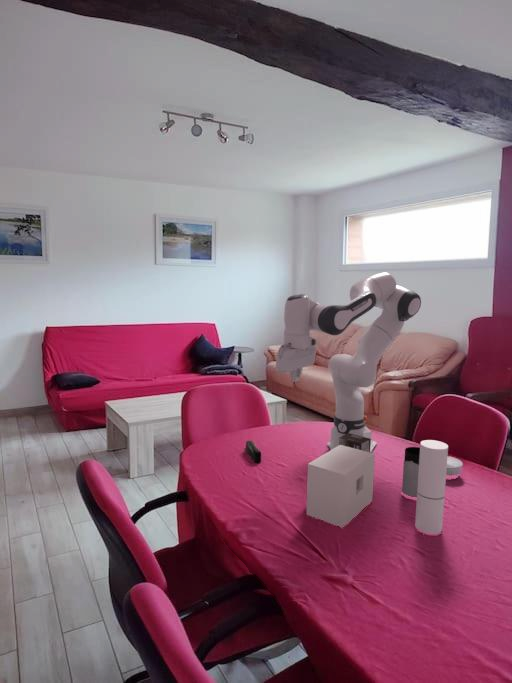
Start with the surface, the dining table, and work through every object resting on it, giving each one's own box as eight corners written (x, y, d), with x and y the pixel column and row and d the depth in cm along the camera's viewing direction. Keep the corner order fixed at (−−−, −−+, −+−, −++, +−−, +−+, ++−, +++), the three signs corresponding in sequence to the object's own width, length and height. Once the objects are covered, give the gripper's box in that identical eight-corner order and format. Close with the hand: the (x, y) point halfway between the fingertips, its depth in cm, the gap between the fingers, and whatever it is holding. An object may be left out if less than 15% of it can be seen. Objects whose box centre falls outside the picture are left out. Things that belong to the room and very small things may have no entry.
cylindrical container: (441, 525, 132) (447, 441, 129) (442, 538, 126) (449, 450, 122) (415, 520, 135) (420, 438, 131) (414, 533, 128) (420, 447, 125)
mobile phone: (262, 451, 175) (249, 437, 189) (255, 452, 174) (242, 438, 188) (262, 463, 176) (249, 448, 189) (254, 464, 175) (242, 449, 188)
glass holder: (395, 495, 151) (398, 451, 148) (414, 481, 161) (417, 440, 159) (421, 504, 145) (424, 458, 143) (439, 489, 155) (442, 446, 153)
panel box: (338, 490, 153) (339, 444, 151) (372, 502, 146) (374, 453, 143) (306, 515, 137) (307, 463, 135) (342, 528, 130) (345, 474, 128)
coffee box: (369, 483, 159) (371, 438, 156) (359, 489, 154) (362, 443, 152) (346, 475, 165) (348, 432, 163) (336, 481, 160) (338, 436, 158)
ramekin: (427, 478, 164) (428, 464, 163) (428, 466, 174) (429, 453, 173) (462, 484, 159) (463, 469, 159) (461, 471, 170) (462, 457, 169)
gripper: (287, 346, 149) (286, 387, 151) (319, 339, 165) (318, 377, 167) (271, 344, 153) (270, 384, 155) (304, 338, 169) (303, 375, 171)
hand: (295, 381), depth 161 cm, fingers closed
